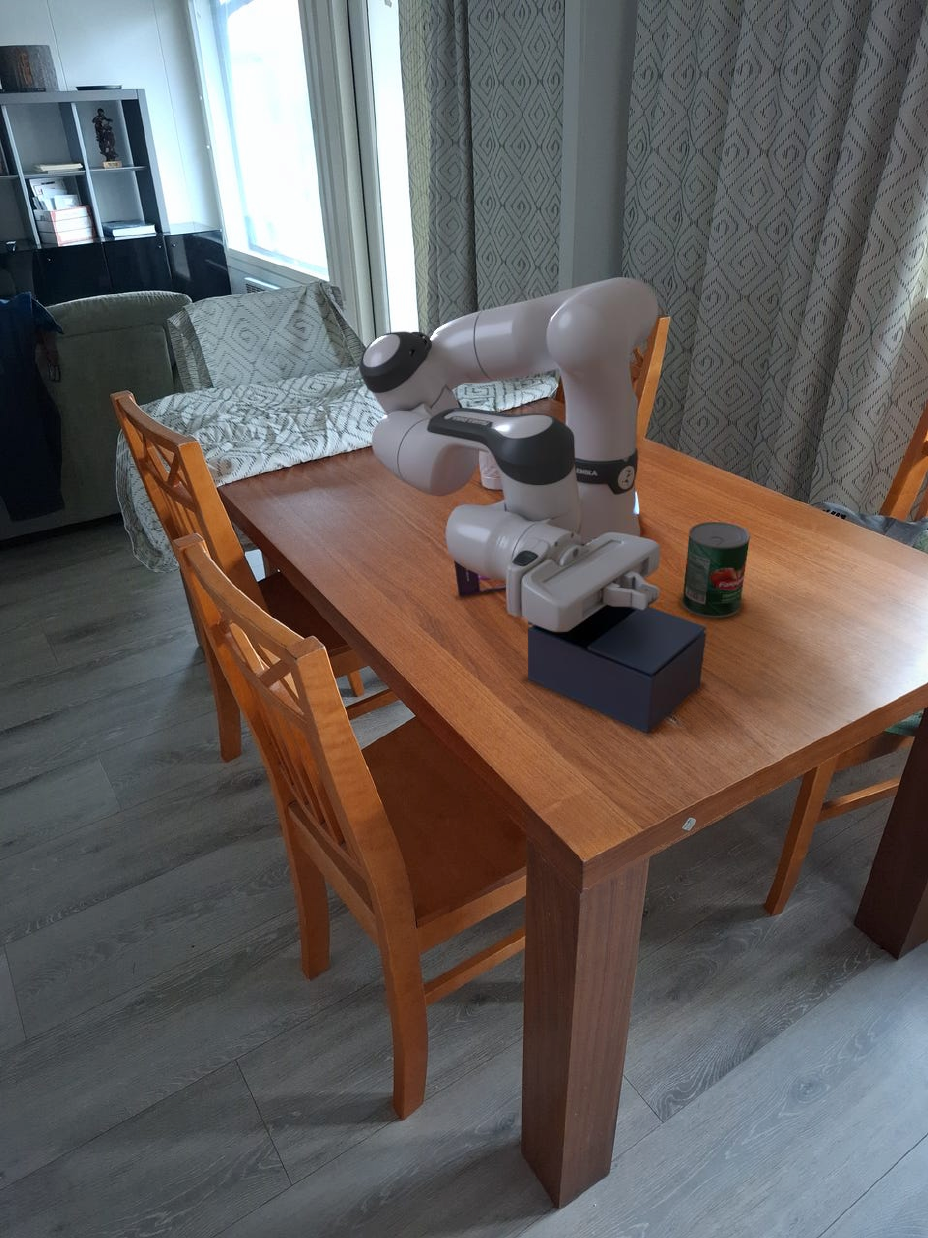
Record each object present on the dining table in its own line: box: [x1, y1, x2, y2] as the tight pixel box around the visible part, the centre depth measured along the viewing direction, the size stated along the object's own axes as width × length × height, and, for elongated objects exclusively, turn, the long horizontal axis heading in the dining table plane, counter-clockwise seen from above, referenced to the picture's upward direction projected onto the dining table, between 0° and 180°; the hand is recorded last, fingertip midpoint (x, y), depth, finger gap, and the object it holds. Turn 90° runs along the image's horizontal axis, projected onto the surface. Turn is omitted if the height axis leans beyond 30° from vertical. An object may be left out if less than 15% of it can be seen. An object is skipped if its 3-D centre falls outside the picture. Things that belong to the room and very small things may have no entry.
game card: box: [453, 559, 506, 597], centre depth 123 cm, size 7×5×9 cm
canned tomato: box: [681, 521, 751, 619], centre depth 113 cm, size 8×8×11 cm
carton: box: [527, 605, 707, 734], centre depth 99 cm, size 17×12×8 cm
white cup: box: [478, 451, 503, 491], centre depth 156 cm, size 8×8×10 cm
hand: (652, 599), depth 91 cm, fingers closed
